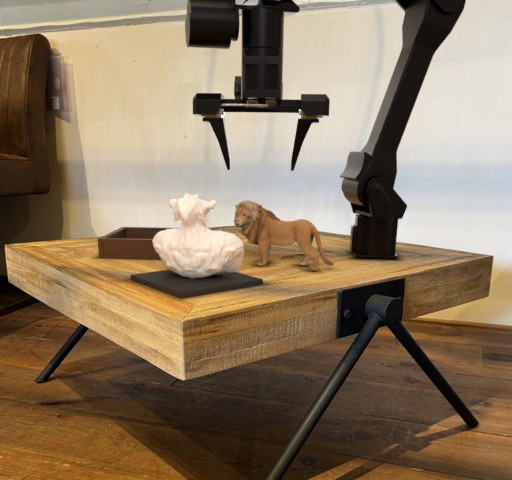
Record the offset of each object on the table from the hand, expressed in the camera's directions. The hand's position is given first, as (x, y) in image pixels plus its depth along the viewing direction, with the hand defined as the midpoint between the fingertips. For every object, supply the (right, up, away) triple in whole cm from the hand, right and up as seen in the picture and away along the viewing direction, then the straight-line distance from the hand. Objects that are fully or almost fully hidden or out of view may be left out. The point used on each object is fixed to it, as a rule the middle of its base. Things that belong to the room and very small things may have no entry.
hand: (260, 170), depth 83 cm
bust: (-8, -17, -11) cm, 21 cm away
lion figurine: (+3, -14, -1) cm, 14 cm away
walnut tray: (-15, -10, +10) cm, 21 cm away
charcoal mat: (-8, -17, -11) cm, 22 cm away
